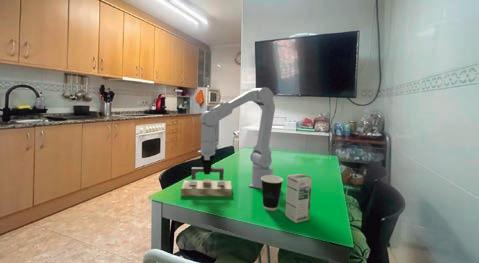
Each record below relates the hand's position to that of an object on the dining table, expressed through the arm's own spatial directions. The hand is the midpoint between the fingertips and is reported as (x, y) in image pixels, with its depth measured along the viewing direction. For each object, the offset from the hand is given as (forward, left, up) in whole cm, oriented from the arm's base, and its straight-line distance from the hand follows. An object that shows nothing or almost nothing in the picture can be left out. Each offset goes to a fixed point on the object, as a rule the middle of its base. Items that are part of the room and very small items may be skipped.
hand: (207, 173), depth 102 cm
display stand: (0, 0, -8) cm, 8 cm away
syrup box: (-38, +8, -8) cm, 40 cm away
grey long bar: (0, 0, -2) cm, 2 cm away
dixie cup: (-28, +4, -8) cm, 29 cm away
